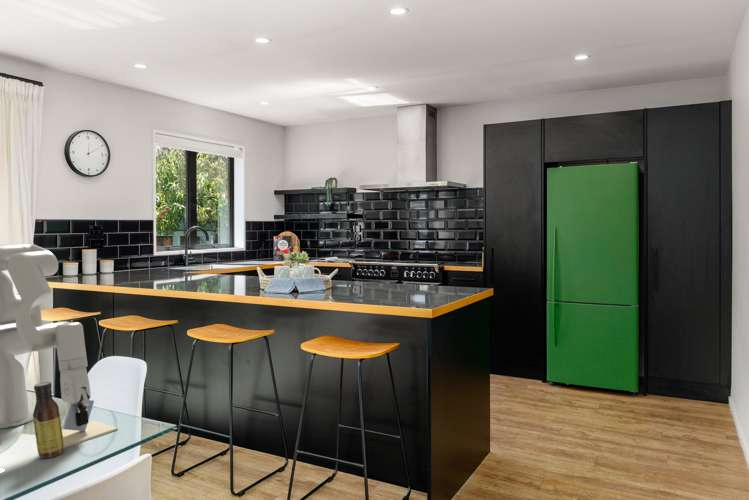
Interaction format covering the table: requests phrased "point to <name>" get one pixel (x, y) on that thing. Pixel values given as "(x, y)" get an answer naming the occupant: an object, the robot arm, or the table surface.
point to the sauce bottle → (47, 422)
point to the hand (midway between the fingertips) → (80, 423)
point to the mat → (86, 433)
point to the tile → (71, 417)
